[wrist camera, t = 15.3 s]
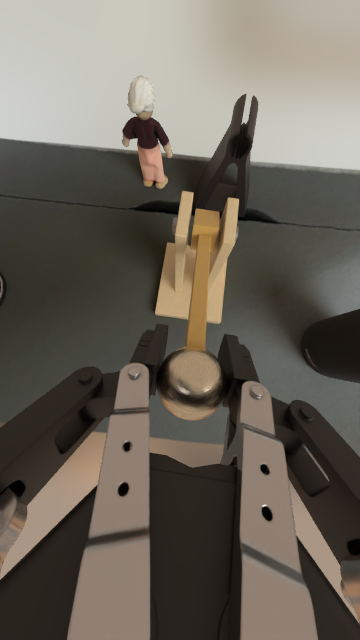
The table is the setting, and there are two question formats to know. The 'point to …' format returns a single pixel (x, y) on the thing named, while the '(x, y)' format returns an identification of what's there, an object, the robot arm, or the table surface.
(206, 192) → the phone stand
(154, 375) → the robot arm
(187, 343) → the lever
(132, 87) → the grandmother figurine
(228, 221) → the bracket
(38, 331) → the table surface
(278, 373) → the table surface
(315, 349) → the pen holder
